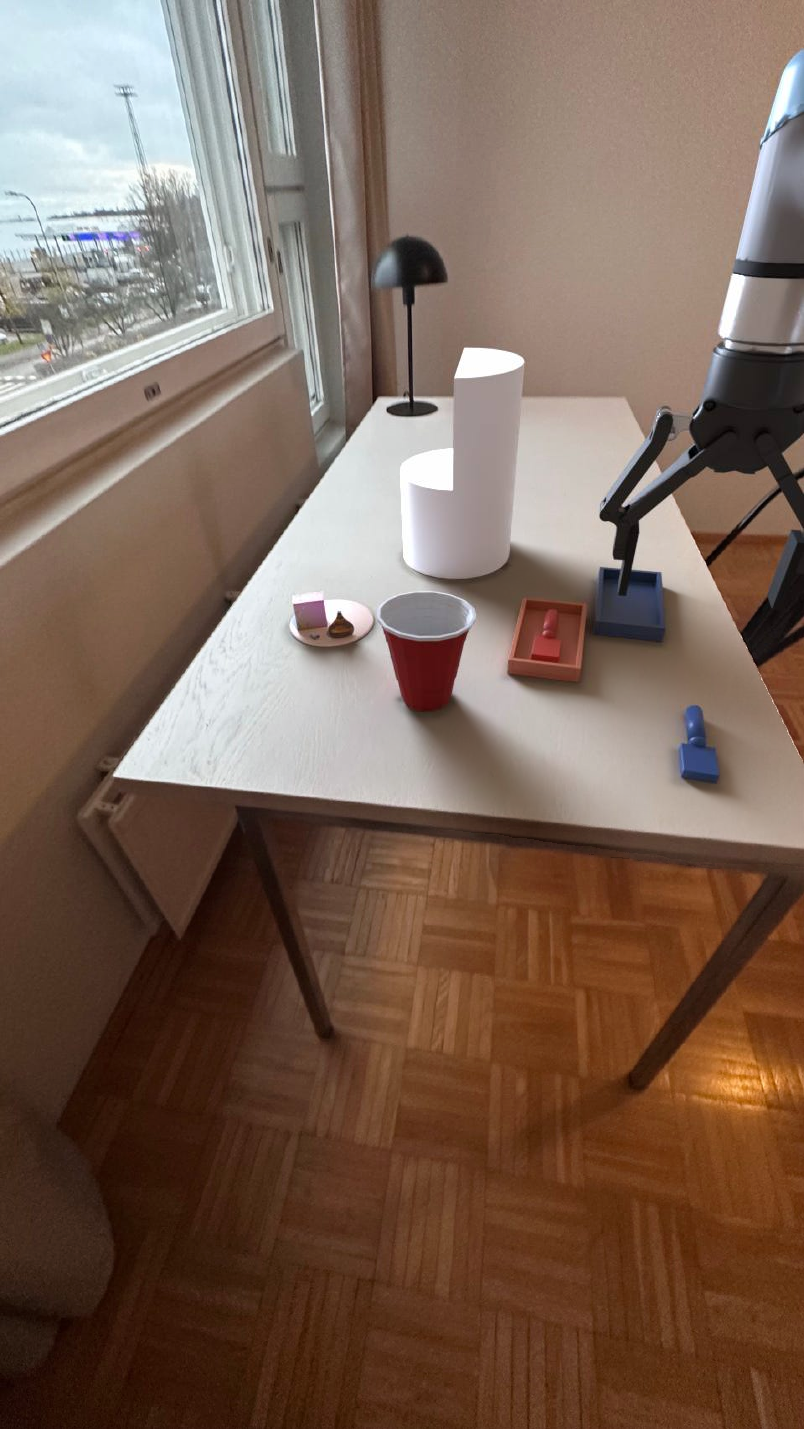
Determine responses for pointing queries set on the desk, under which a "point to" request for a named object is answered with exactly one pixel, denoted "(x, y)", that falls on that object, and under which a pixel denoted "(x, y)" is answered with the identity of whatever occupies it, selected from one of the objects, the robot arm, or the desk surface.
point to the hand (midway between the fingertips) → (695, 595)
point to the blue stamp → (697, 750)
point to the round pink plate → (328, 620)
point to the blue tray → (630, 606)
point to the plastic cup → (425, 644)
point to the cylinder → (467, 474)
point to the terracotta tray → (567, 630)
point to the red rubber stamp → (547, 640)
